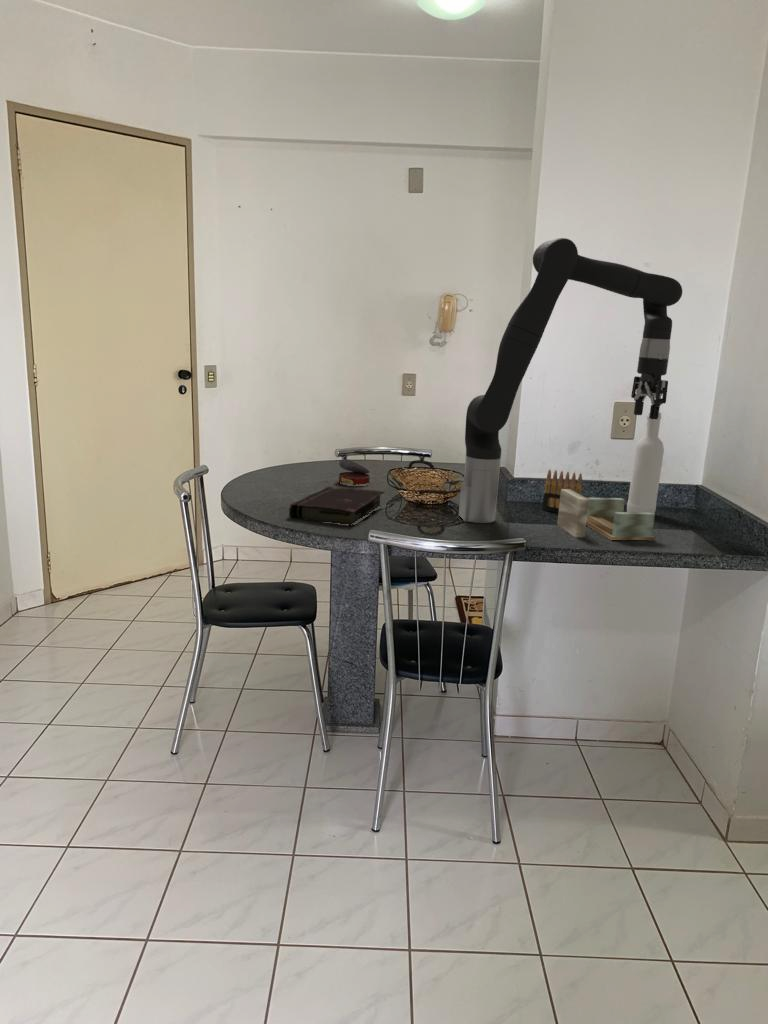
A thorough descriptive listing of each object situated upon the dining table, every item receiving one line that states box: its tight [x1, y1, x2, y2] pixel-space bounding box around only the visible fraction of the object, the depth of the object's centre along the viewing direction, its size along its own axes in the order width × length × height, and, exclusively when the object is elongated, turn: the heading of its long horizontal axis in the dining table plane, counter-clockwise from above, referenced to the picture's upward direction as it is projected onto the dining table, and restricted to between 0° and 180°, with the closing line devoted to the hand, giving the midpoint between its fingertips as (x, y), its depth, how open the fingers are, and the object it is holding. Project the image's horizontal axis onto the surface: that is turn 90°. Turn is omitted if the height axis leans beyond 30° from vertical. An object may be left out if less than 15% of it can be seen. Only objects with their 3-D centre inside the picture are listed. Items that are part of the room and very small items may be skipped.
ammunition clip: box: [541, 468, 583, 513], centre depth 218 cm, size 11×2×12 cm, turn 67°
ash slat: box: [556, 488, 589, 538], centre depth 197 cm, size 2×12×10 cm, turn 10°
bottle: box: [626, 410, 665, 515], centre depth 218 cm, size 8×8×30 cm
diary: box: [288, 486, 386, 527], centre depth 203 cm, size 19×25×5 cm
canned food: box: [338, 458, 371, 485], centre depth 241 cm, size 11×10×10 cm
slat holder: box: [586, 497, 656, 541], centre depth 200 cm, size 12×18×7 cm, turn 10°
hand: (645, 417), depth 206 cm, fingers open, 8 cm apart
